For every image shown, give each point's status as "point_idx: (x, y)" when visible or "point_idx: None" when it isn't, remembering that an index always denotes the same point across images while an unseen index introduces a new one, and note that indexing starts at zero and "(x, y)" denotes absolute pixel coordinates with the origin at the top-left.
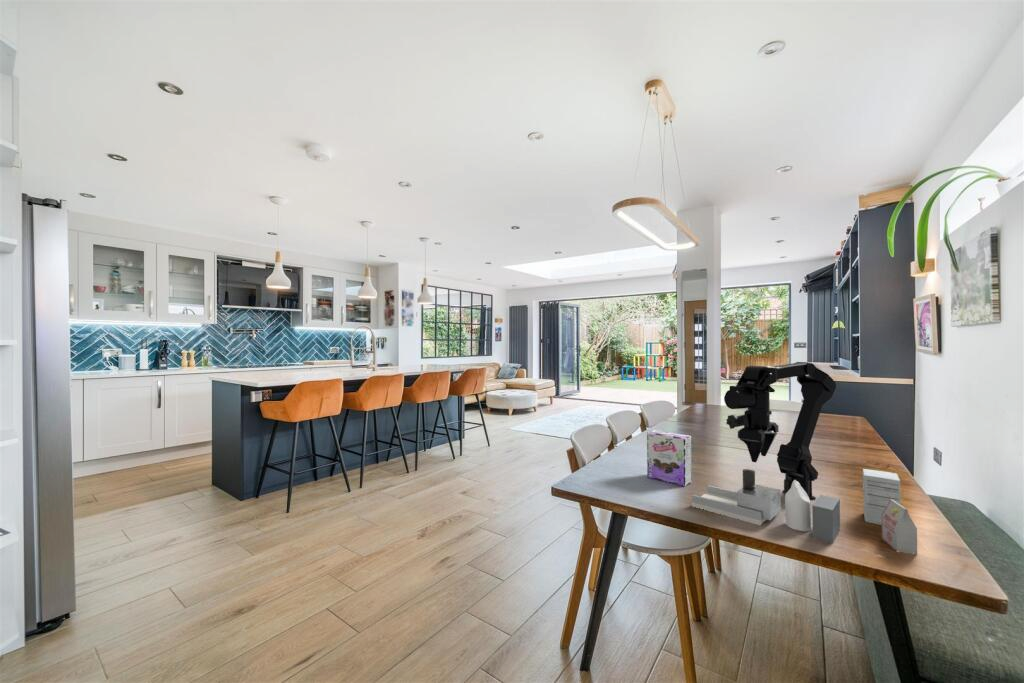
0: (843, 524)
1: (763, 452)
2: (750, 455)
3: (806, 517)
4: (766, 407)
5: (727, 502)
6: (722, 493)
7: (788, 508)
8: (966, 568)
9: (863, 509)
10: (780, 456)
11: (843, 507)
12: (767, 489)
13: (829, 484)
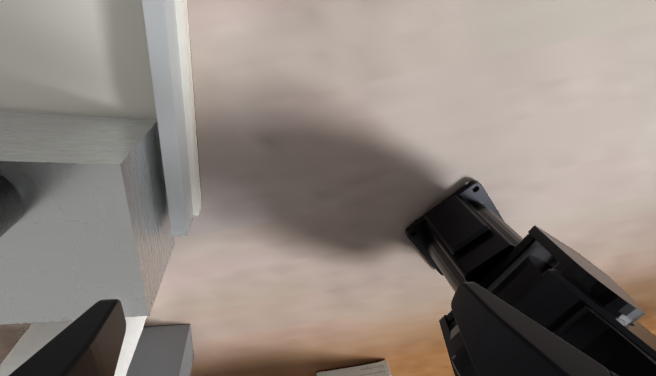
0: (252, 351)
1: (473, 326)
2: (18, 372)
3: None
4: None
5: (41, 9)
6: None
7: (20, 338)
8: None
9: (385, 369)
10: (559, 329)
11: (406, 326)
12: (85, 276)
13: (619, 266)
